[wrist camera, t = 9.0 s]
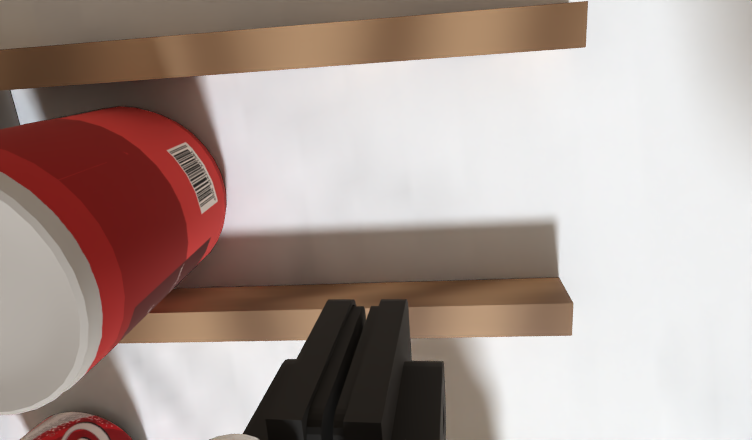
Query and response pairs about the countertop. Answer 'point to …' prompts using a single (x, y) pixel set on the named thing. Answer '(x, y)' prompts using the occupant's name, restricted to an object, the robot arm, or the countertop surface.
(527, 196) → the countertop surface
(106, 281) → the canned food
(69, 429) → the soda can
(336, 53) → the guide channel
